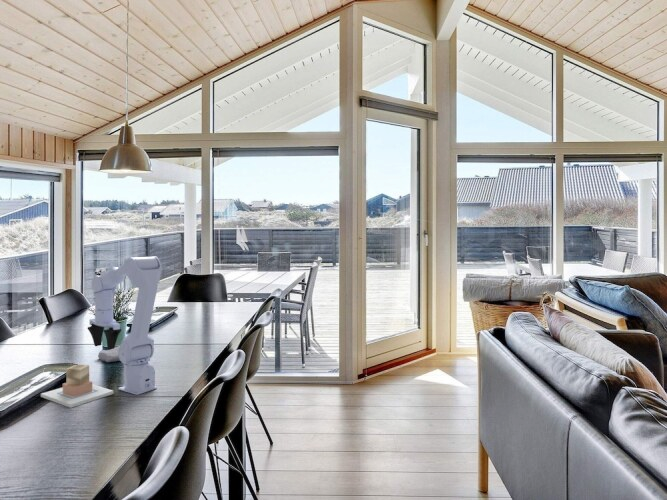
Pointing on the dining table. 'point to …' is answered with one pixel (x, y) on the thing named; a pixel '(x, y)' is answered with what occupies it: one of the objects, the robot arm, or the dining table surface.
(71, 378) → the maple block
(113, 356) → the stone block
